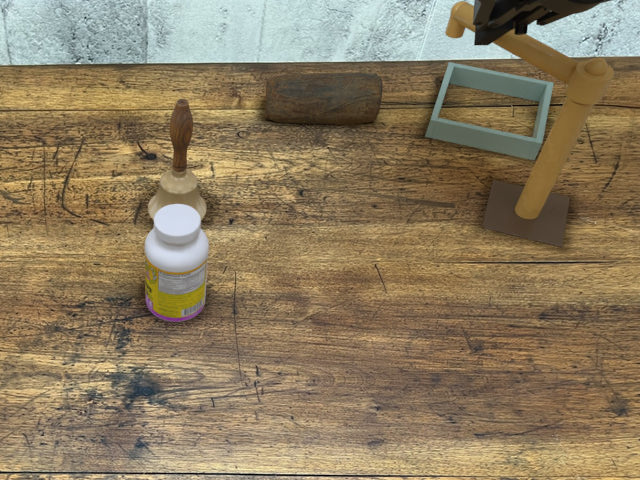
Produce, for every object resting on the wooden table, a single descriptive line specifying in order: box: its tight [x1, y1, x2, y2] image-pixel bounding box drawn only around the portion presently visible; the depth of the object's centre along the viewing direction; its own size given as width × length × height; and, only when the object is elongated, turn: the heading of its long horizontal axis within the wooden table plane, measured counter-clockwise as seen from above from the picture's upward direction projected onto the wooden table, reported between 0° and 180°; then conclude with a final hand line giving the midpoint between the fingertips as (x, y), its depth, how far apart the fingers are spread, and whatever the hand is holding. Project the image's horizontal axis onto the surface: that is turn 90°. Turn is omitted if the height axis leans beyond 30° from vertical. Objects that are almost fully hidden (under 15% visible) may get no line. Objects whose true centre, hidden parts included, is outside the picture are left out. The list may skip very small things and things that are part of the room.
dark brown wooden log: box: [263, 72, 384, 125], centre depth 108 cm, size 15×7×7 cm, turn 90°
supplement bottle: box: [144, 204, 210, 323], centre depth 86 cm, size 7×7×13 cm
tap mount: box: [481, 96, 595, 248], centre depth 91 cm, size 9×9×17 cm
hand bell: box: [147, 98, 207, 221], centre depth 94 cm, size 8×8×16 cm
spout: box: [444, 0, 615, 105], centre depth 87 cm, size 20×4×5 cm, turn 35°
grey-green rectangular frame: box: [424, 61, 555, 161], centre depth 107 cm, size 14×14×4 cm
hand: (482, 32), depth 88 cm, fingers closed
